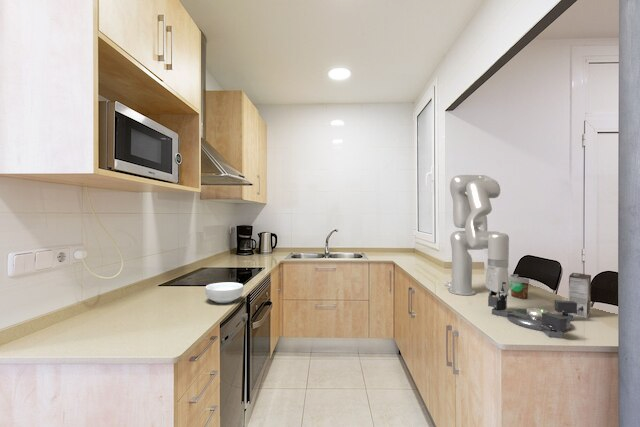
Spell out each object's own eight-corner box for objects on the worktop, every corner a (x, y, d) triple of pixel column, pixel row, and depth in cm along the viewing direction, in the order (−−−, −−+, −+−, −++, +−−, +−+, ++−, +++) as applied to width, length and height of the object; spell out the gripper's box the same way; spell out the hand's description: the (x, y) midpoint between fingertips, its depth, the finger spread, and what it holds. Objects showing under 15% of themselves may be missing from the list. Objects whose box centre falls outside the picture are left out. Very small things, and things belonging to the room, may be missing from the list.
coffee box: (571, 309, 143) (572, 272, 143) (590, 313, 138) (591, 274, 138) (567, 314, 137) (568, 275, 136) (587, 318, 132) (588, 277, 132)
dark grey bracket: (487, 306, 136) (488, 296, 136) (489, 304, 140) (489, 293, 140) (505, 309, 132) (505, 298, 132) (507, 306, 136) (507, 296, 136)
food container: (504, 293, 171) (504, 273, 171) (517, 293, 170) (517, 274, 170) (514, 299, 158) (515, 278, 158) (528, 300, 158) (529, 279, 157)
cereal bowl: (249, 302, 149) (249, 287, 149) (211, 308, 140) (211, 292, 140) (235, 294, 163) (235, 280, 163) (200, 299, 154) (200, 284, 154)
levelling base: (480, 321, 126) (481, 303, 126) (504, 305, 148) (504, 290, 148) (564, 341, 108) (565, 320, 108) (577, 319, 130) (577, 301, 130)
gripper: (479, 259, 145) (478, 301, 145) (499, 266, 127) (498, 314, 128) (496, 260, 144) (495, 301, 145) (519, 267, 127) (518, 314, 127)
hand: (497, 307), depth 136 cm, fingers closed on dark grey bracket, 5 cm apart
